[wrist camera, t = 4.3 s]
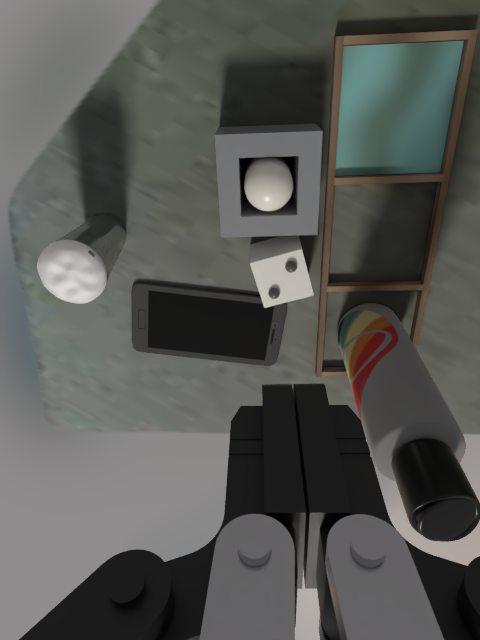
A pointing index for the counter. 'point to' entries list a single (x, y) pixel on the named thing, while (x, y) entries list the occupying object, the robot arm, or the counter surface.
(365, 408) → the lotion bottle
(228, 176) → the button box
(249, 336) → the cell phone
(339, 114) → the track
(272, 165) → the dome
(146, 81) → the counter surface
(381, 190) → the counter surface
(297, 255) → the die
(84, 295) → the milkshake
